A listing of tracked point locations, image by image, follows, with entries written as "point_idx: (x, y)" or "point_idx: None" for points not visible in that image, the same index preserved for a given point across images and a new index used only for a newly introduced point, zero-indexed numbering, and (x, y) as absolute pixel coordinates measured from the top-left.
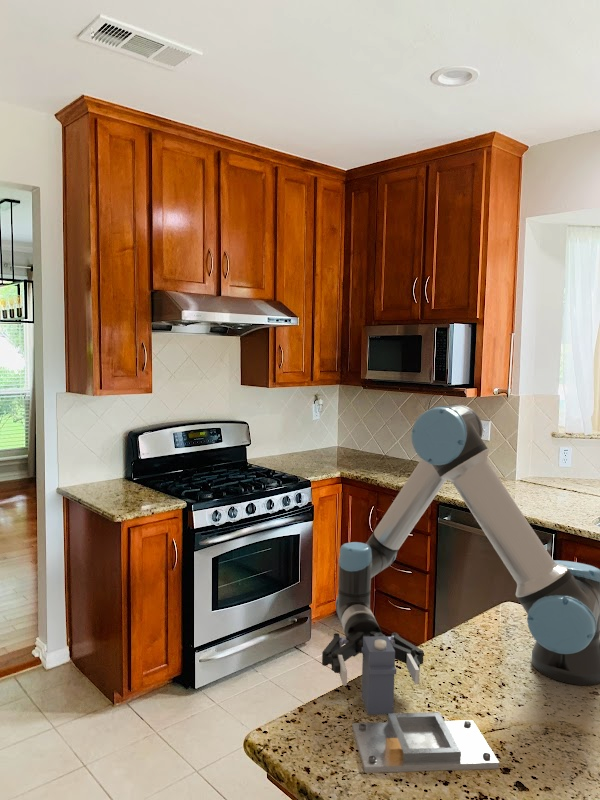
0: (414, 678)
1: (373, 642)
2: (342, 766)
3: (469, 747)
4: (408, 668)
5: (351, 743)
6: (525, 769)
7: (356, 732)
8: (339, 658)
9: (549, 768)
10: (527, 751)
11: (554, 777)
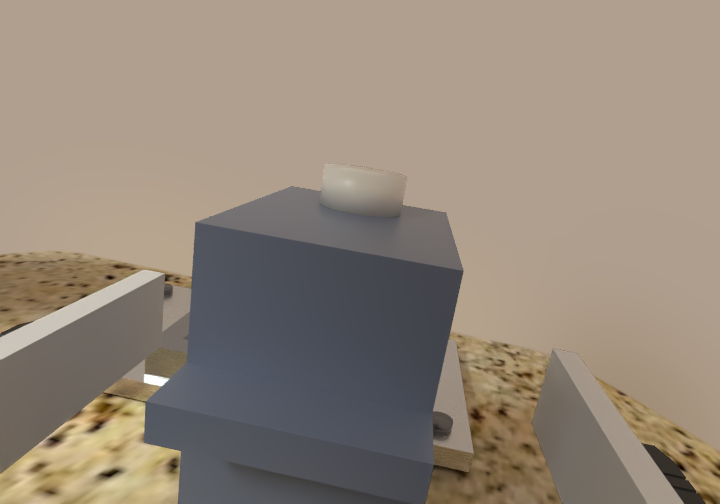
0: (152, 333)
1: (387, 227)
2: (504, 381)
3: (169, 311)
4: (55, 412)
5: (476, 428)
6: (99, 286)
7: (463, 415)
8: (650, 457)
9: (48, 276)
10: (18, 300)
11: (72, 269)
